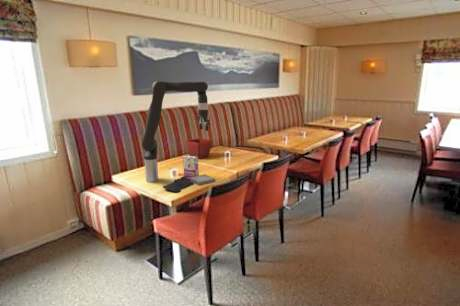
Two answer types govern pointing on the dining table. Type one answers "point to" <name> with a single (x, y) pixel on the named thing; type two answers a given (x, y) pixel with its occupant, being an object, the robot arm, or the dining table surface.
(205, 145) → the plant pot
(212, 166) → the dining table surface
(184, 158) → the candy bar box
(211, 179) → the slate board
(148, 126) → the robot arm
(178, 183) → the dark slate chunk
